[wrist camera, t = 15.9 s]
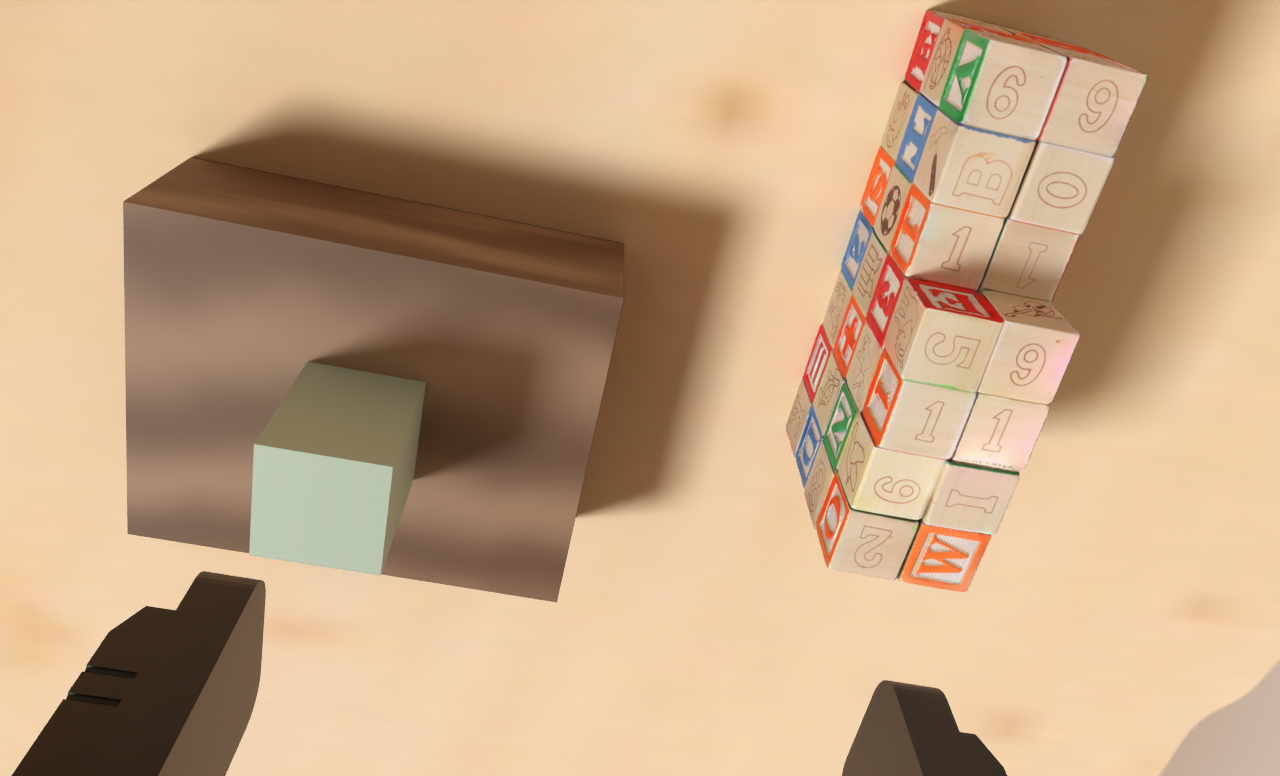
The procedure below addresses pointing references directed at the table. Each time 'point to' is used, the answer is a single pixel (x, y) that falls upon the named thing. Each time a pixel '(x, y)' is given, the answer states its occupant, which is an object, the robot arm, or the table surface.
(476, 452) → the block
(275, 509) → the sage block
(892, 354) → the stack of blocks
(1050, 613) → the table surface
